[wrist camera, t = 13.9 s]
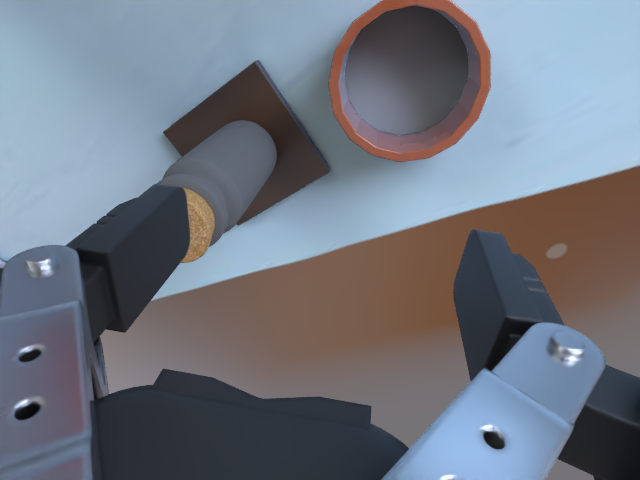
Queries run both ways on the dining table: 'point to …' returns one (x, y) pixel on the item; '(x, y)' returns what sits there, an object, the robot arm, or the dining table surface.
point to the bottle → (222, 180)
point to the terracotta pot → (441, 132)
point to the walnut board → (268, 112)
